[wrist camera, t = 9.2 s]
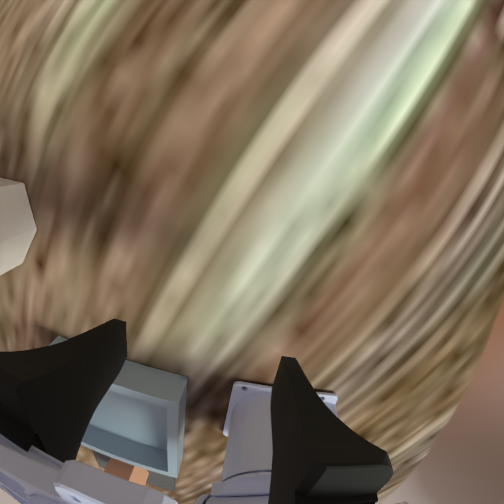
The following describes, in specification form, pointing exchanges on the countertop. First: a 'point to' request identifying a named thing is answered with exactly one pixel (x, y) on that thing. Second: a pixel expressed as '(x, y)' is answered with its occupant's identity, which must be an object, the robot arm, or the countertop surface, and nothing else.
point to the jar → (14, 224)
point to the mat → (152, 478)
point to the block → (127, 471)
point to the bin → (141, 419)
